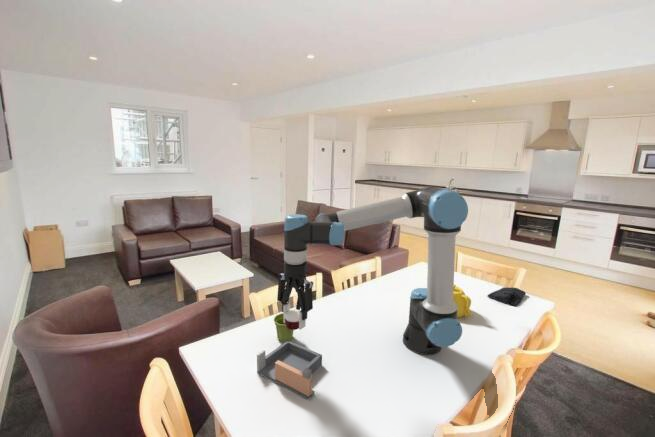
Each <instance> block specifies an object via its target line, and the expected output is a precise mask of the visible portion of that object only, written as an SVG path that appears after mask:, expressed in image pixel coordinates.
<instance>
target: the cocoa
mask: <svg viewBox="0 0 655 437" xmlns="http://www.w3.org/2000/svg"><path fill="white" fill-rule="evenodd" d="M296 300H297V301H296V304H295V305H296V306H295V309H290V311H289V312H286V313H285V315H284V316H285V323H286V326H287V329H290V330H293V331H295V330H299V311H300V310H301V307H300V303H299V299H298V298H296Z"/></svg>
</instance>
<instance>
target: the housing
mask: <svg viewBox="0 0 655 437" xmlns="http://www.w3.org/2000/svg"><path fill="white" fill-rule="evenodd" d="M278 360H279V361H281V362H283V363H285V364H287V365H289V366H291V367H293V368H295V369H297V370H299V371H301V372H303V370H304V369H306V368H308V369H310V370H312V375H313V374H314V373H315V372H316V371H317V370H318V369H319V368H320V367H321V366H322V365H323V355H322V354H321V353H318V352H315V351H314V350H311V349H309V348H307V347H304V346H302V345H300V344H298V343H295V342H293V341H291V340H290V341H289V340H287V341H286V342H283V343H282V344H280V345H279V346H278V347H276V348H275V349H274V350H272V351H271V352H269V353H268V354H267V355H266V350H265V349H263V350H262V351H260V352H259V353H257V354H256V373H257V374H258V375H260V376H262V377H264V378H266V379H268V380H270V381H271V382H274V383H276V385H279V386H281V387H283V388H284V389H287V390H288V391H291V392H292V393H294V394H296V395H297V396H299V397H300V398H303V399H305V400H307V401H309V400H310V399H311V398H312V397H314V395H316V394H315V393H316V392H315V390H314V389H312V394H311V395H310V396H309V397H308V396H306V395H305V394H303V393H301V392H299V391H297V390H295V389H293V388H291V387H290V386H288V385H286V384H284V383H282V382H280V381H278V380H276V379H275V362H277V361H278Z"/></svg>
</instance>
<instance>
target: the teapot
mask: <svg viewBox="0 0 655 437" xmlns="http://www.w3.org/2000/svg"><path fill="white" fill-rule="evenodd" d="M453 302H454V303H455V304H456V305H457V319H459V318H463V317H464V316H466V317H470V316H471V315H472V311H471V309H470V307H471V305H472V300H471V298H470V297H469V296H468V295H466V293H465V292H464V291H463V289H462V288H460V287H458V286H456V285H455V284H454V287H453Z"/></svg>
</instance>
